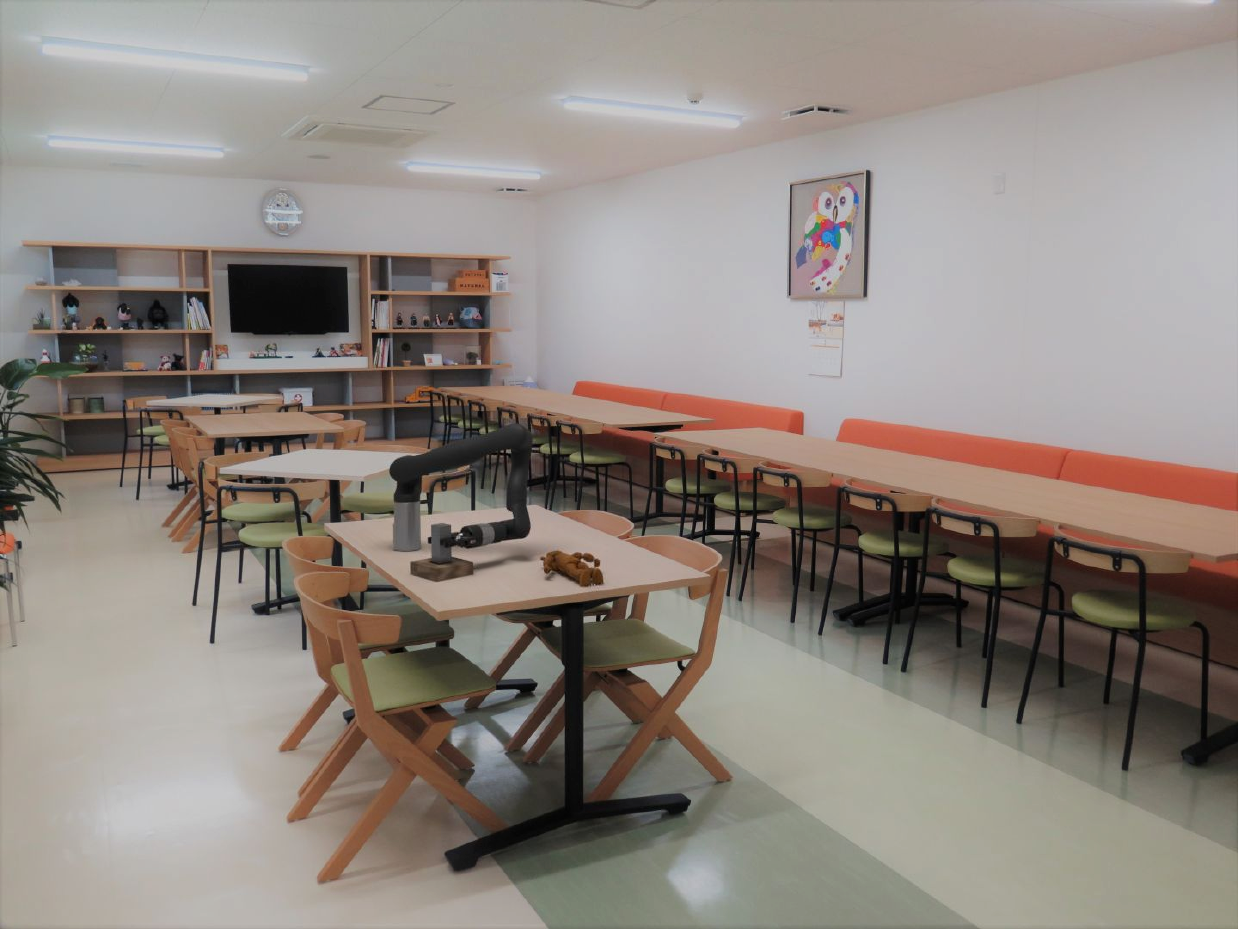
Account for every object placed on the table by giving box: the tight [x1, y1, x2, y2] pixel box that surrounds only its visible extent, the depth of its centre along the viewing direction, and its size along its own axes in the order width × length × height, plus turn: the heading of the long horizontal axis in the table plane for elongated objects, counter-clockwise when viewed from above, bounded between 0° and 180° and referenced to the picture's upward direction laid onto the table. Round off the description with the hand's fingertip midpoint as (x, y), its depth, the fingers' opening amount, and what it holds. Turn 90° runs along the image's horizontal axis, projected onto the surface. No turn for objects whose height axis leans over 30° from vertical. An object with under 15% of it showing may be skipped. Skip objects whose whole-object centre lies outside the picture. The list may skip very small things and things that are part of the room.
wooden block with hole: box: [409, 556, 474, 583], centre depth 312 cm, size 14×14×4 cm
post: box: [430, 522, 453, 565], centre depth 311 cm, size 4×4×16 cm
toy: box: [539, 550, 604, 588], centre depth 312 cm, size 20×7×30 cm
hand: (436, 542), depth 309 cm, fingers open, 8 cm apart
